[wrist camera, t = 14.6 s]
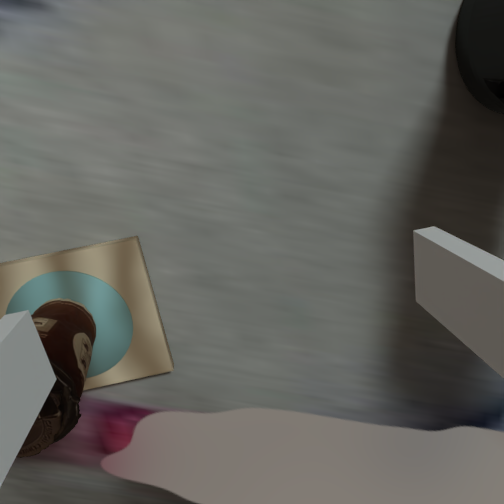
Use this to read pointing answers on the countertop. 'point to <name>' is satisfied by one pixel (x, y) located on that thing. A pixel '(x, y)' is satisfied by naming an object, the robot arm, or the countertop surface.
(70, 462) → the countertop surface
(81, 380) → the coffee cup
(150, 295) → the oak board
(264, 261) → the countertop surface
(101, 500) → the countertop surface
